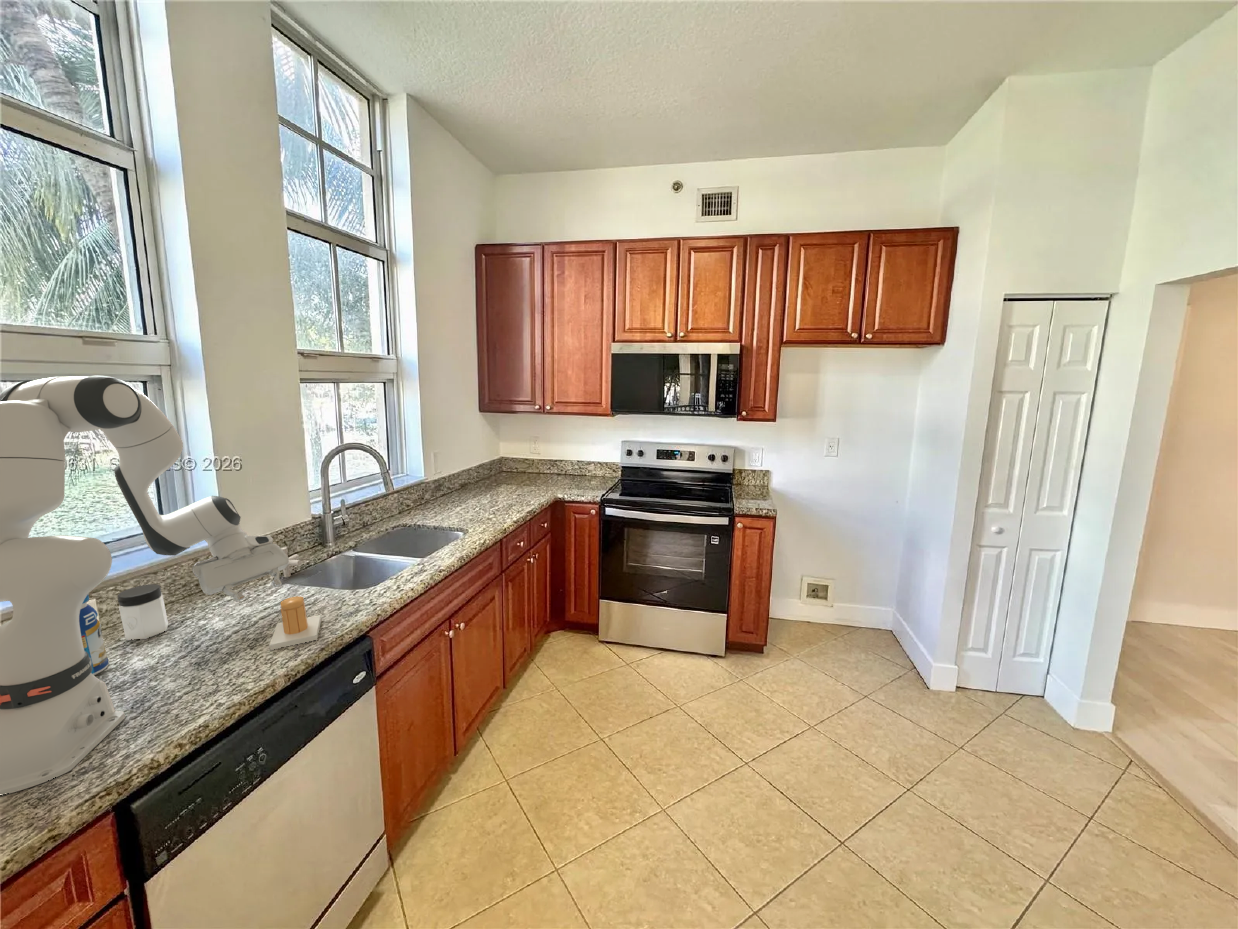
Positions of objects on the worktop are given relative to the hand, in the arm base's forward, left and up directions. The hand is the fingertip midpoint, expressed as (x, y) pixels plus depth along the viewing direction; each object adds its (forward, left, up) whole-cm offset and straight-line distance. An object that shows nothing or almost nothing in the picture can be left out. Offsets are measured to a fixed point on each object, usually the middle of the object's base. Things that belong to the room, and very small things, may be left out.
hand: (259, 592), depth 132 cm
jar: (+10, +27, -10) cm, 31 cm away
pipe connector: (+36, -1, -10) cm, 37 cm away
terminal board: (-10, -9, -9) cm, 16 cm away
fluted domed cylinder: (-10, -9, -8) cm, 15 cm away
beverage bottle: (-7, +33, -10) cm, 35 cm away
